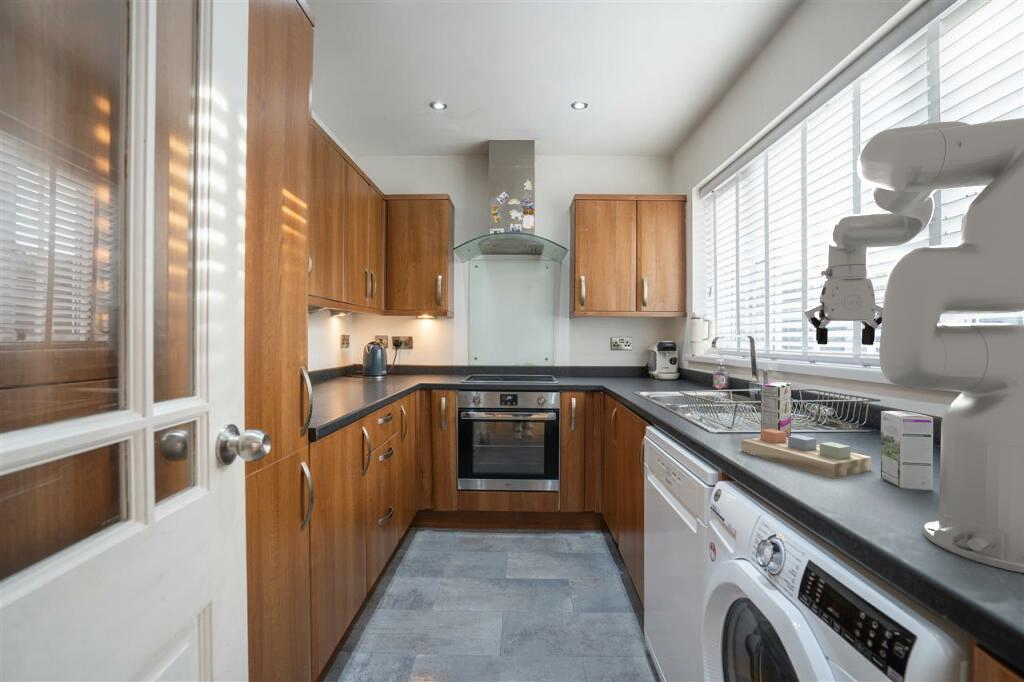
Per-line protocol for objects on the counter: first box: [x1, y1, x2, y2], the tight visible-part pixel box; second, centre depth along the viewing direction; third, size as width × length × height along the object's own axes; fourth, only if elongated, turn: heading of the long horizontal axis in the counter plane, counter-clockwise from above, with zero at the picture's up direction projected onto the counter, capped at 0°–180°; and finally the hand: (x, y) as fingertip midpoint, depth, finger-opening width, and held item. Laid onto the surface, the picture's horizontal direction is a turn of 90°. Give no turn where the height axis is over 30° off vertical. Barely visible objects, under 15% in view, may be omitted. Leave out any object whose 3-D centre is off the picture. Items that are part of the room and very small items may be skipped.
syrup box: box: [880, 410, 934, 491], centre depth 80 cm, size 6×6×14 cm
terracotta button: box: [759, 429, 786, 444], centre depth 102 cm, size 4×4×3 cm
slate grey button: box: [788, 434, 817, 451], centre depth 96 cm, size 4×4×3 cm
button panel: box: [741, 437, 873, 479], centre depth 96 cm, size 14×21×3 cm, turn 23°
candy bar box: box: [760, 381, 792, 438], centre depth 115 cm, size 11×5×16 cm, turn 131°
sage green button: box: [819, 441, 852, 460], centre depth 89 cm, size 4×4×3 cm
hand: (844, 344), depth 97 cm, fingers open, 9 cm apart
